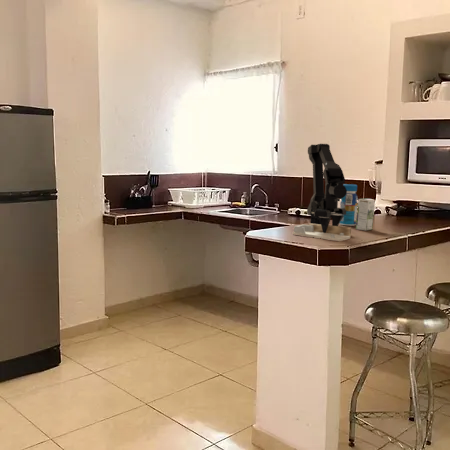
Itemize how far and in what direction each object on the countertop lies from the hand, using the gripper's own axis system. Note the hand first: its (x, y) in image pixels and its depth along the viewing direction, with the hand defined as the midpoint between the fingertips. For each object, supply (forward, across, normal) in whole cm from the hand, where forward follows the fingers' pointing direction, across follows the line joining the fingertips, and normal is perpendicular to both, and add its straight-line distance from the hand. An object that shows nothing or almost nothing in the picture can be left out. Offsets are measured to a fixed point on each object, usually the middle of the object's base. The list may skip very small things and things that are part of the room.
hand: (329, 231), depth 240 cm
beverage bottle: (+1, -36, -9) cm, 37 cm away
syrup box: (+1, -27, +4) cm, 27 cm away
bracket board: (+1, +9, +1) cm, 9 cm away
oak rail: (+1, 0, 0) cm, 1 cm away
